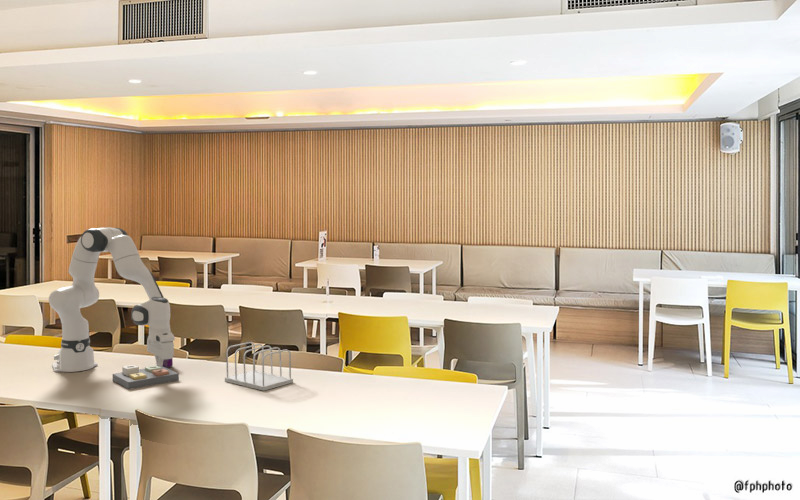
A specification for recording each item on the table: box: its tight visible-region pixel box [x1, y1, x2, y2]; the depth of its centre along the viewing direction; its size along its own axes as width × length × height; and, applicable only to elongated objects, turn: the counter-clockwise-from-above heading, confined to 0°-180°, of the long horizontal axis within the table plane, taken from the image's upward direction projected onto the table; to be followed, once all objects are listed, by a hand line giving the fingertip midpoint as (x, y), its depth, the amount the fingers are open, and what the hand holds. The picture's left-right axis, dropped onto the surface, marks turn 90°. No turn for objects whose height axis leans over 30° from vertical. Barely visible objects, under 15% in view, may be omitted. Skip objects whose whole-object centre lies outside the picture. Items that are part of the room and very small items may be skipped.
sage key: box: [144, 365, 161, 372], centre depth 303 cm, size 5×5×3 cm
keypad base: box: [112, 366, 180, 390], centre depth 297 cm, size 18×22×3 cm
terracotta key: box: [152, 369, 169, 376], centre depth 297 cm, size 5×5×3 cm
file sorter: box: [224, 341, 294, 392], centre depth 296 cm, size 25×17×16 cm
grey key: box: [121, 364, 140, 376], centre depth 296 cm, size 5×5×3 cm
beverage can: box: [156, 358, 174, 369], centre depth 320 cm, size 7×7×12 cm
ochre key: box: [130, 373, 146, 380], centre depth 291 cm, size 5×5×3 cm
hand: (159, 365), depth 297 cm, fingers closed
